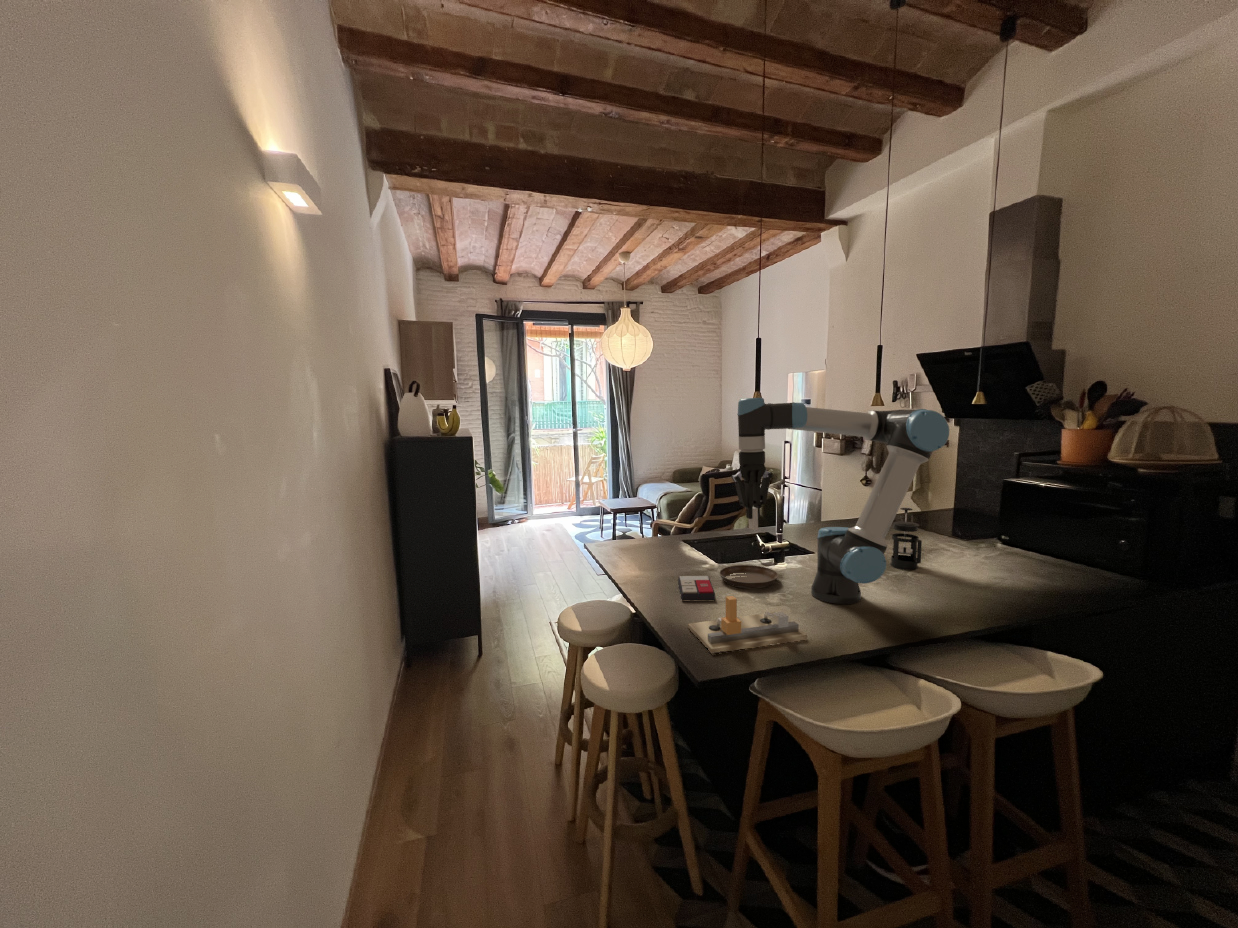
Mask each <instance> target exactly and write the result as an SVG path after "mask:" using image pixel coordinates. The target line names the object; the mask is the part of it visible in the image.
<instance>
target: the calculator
mask: <svg viewBox="0 0 1238 928" xmlns="http://www.w3.org/2000/svg"><path fill="white" fill-rule="evenodd" d="M677 577H678V578H677V582H678V583H677V586H678V585H679V587H678V589H679V590H680V591H679V595H680V594H681V596H680V600H681V599H682V600H715V601H716V594H715V590H714V587H713V584H712V581H711V578H710V576H708V575H679V576H677Z"/></svg>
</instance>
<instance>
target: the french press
mask: <svg viewBox="0 0 1238 928" xmlns="http://www.w3.org/2000/svg"><path fill="white" fill-rule="evenodd" d="M899 510H902V511H904V514H905V517H904V518H905V519H904V521H903V520H902V521H900V520H899V521H893V522H892V525H893V529H894V530H896V531H900V532H901V533H900V532H899V533H893V534H891V539H892V540H893V544H892V545H893V546H892V552H893V553H892V555H891V557H890V560H891V561H890V564H889V565H890V567H893V568H895V569H898V570H903V569H904V571H914V570H918V569H919V566H918V564H920V563H922V546H923V545H922V542H923V541H922V539H919V536H918V535H915V534H910V532H912V533H913V532H917V531H918V529H919V527H920V524H919V523H918V522H917V523H916V522H914V521H907V515H908V511H913V508H912V507H911V508H910V507H900V508H899ZM902 532H904V533H902ZM907 532H909V533H907ZM903 537H904V538H903ZM900 542H901V543H904V544H903V546H900V545H899V544H900ZM906 543H910V547H906Z"/></svg>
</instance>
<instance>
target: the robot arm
mask: <svg viewBox="0 0 1238 928" xmlns="http://www.w3.org/2000/svg"><path fill="white" fill-rule="evenodd" d="M737 423H738V424H737V425H738V426H737V427H738V428H737V429H738V450H740V451H739V452H738V464H739V467H738V470H737V471H738V472H737V473H736V474H732V475H731V480H732V481H733V483H734V486H735V490H736V493H737V498H738V502H739V505H740V506H741V507H743V508H745V511H746V512H745V513H746V514H745V515H746V519H748V529H750V530H752V531H756V530H757V531H758V530H759V518H761V508H762V507H763V506H764V505H766V503H767V499H768V495H769V494H768V493H769V489H770V483H771V480H772V479H773V476H774V474H773V472H770V471H768V470H767V467H766V466H765V463H766V451H764V450H765V449H766V439H765V438H766V437H765V436H766V433H765V432H766V430H768V431H769V430H785V429H786V430H796V431H805V432H806V431H807V432H816V433H825V434H833V435H834V434H835V435H844V436H854V437H855V436H856V437H862V438H863V439H864V440H866V441H872V442H878V443H881V444H886V449H887V451H888V455H887V457H886V459H885V462H884V464H883V466H882V468H881V471H880V472H879V474H878V476H877V479H876V480H875V483H874V485H873V487H872V488H871V489H872V490H871V491H870V494H869V496H868V498H867V500H866V502H865V505H864V506H863V509H862V511H861V513H860V515H859V517H858V519H857V522H856V523H855V525H854V526H852V527H846V526H845V527H842V526H827V527H821V528H820V529H819V530H818V532H817V559H816V560H817V566H816V567H817V568H816V573H815V576H814V579H813V583H812V585H811V595H812V596H813V597H814V598H815V599H817V600H820V601H822V602H825V603H830V604H838V605H852V604H857V603H858V602H860V601H861V599H862V591H861V589H860V586H859V585H860V584H871V583H872V582H876V581H877V580H879V579H880V578H881V577H882V576H883V575H884V573H885V572H886V569H887V560H886V556H885V553H886V550H887V548H888V543H887V541H886V537H887V534H888V532H889V531H890V529H891V527H892V525H893V522H894V520H895V518H896V516H897V513H898V512H899V510H900V508H901V505H902V502H903V501H904V500H905V497H906V495H907V492H908V490H909V488H910V486H911V484H912V482H913V480H914V477H915V475H916V473H917V471H918V469H919V468H920V465H922V464H924V463H926V462H929V460H930V458H931V456H932V453H933V452H934V451H937V450H939V449H942V448H943V447H944V446H945V445H946V444H947V442H948V440H949V436H950V427H949V423H948V421H947V419H946V418H945V417H944V415H943V414H941V413H940V412H937V411H935V410H932V409H925V408H919V409H918V408H917V409H894V410H892V409H891V410H868V411H867V412H860V411H851V410H849V411H848V410H841V409H839V410H838V409H831V408H830V409H829V408H819V407H810V406H806V404H805V403H804V402H794V401H793V402H783V403H777V402H776V403H771V402H768V403H766V402H765V399H764V397H745V398H741V399H739V400H738V403H737Z"/></svg>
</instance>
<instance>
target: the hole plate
mask: <svg viewBox="0 0 1238 928" xmlns="http://www.w3.org/2000/svg"><path fill="white" fill-rule="evenodd" d="M770 613H771V614H772V615H773V613H777V612H776V611H774V612H770ZM764 614H765V613H759V614H751V615H744V616H737V618H738V619H739V620H740V621H741V629H744V628H752V627H759V626H766V625H773V624H772V620H771V619H769V618H768V620H764ZM688 627H689V628H690V630H691V631H692V632H693V633H694V634H695V635H696V636H697V637H698V639H700V641H701V642H702V643H703V644H704V645H705V647H707V648H708V650H709V651H710V652H711V653H714V652H720V651H731V650H738V649H744V648H749V647H759V648H761V647H760V646H765V645H770V644H777V643H785V644H788V643H787V642H791V643H794V642H793V641H798V642H801V641H800V640H805V641H807V640H808V634H807V633H805V632H804V631H802V630H801V629H800V628H799V631H798V632H791V633H784V634H777V635H770V636H764V637H757V638H750V639H743V640H736V641H729V642H723V643H716V644H710V643H709V642H708V634H709V633H716V632H723V630H722V629H721V626H717V619H715V620H707V621H706V620H705V621H699V622H692V623H688V624H687V628H688ZM690 630H689V631H690ZM698 639H697V640H698ZM700 641H699V642H700ZM705 647H704V648H705ZM765 647H766V646H765ZM708 650H707V651H708ZM709 651H708V652H709Z"/></svg>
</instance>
